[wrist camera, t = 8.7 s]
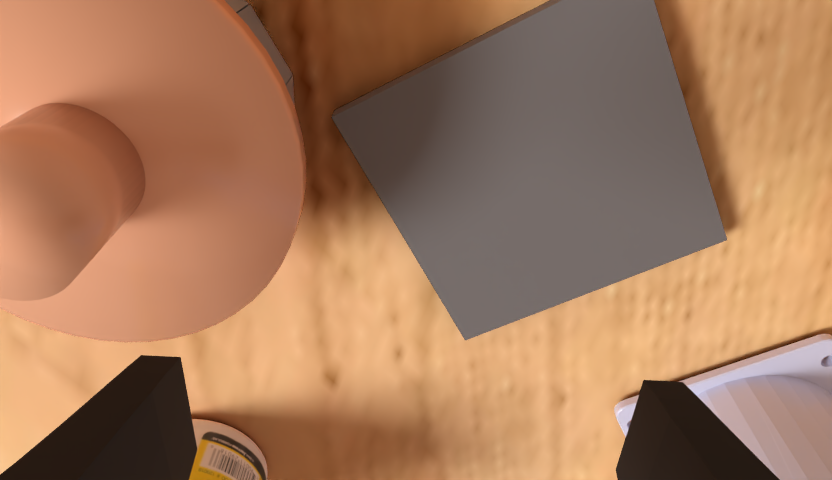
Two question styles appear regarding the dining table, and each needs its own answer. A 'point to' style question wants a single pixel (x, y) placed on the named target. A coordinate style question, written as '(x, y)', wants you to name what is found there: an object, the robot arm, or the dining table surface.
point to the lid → (141, 166)
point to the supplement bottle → (225, 454)
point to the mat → (539, 160)
